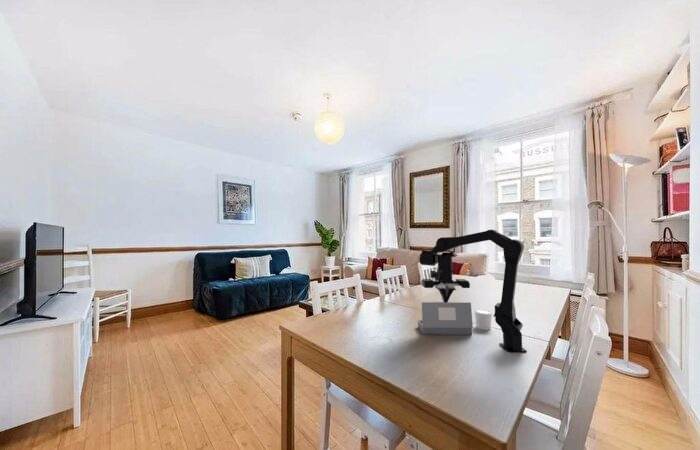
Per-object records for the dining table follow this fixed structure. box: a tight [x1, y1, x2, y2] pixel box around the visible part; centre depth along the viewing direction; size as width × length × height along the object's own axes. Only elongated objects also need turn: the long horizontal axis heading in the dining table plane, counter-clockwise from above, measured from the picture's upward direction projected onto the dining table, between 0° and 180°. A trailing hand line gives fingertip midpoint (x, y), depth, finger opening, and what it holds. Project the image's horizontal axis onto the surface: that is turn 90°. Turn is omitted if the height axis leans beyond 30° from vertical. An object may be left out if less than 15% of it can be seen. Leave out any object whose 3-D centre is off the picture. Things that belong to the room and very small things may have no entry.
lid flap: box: [421, 301, 474, 329], centre depth 111 cm, size 10×20×1 cm
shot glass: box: [474, 309, 493, 331], centre depth 119 cm, size 7×7×7 cm
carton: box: [417, 319, 473, 336], centre depth 115 cm, size 9×20×3 cm, turn 89°
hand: (445, 303), depth 113 cm, fingers closed, pressing on lid flap
